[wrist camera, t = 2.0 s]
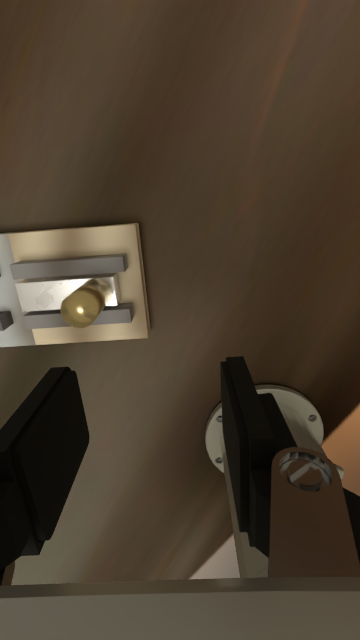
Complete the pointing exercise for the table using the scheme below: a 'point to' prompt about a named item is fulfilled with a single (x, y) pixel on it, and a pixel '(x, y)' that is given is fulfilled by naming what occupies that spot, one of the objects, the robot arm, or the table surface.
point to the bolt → (70, 296)
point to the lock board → (72, 260)
